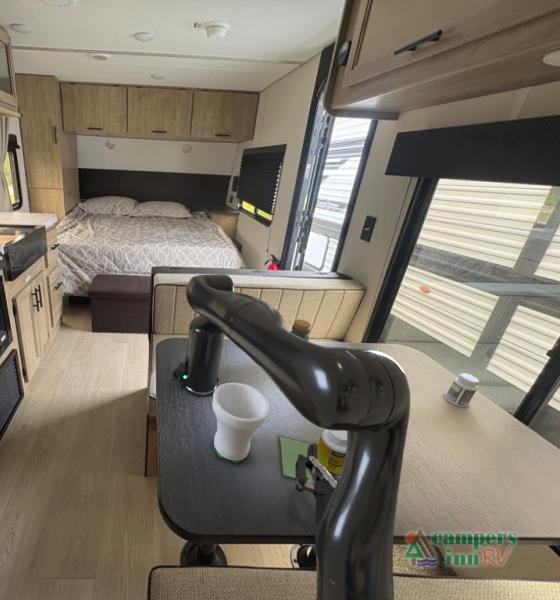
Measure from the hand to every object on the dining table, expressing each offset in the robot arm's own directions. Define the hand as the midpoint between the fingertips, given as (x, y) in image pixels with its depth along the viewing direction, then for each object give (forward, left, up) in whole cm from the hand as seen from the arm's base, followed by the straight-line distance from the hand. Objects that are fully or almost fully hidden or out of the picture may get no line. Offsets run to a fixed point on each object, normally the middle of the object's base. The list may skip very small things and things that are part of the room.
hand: (337, 455), depth 58 cm
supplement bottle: (+1, +4, -8) cm, 9 cm away
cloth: (+1, +4, -8) cm, 9 cm away
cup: (-19, +2, -8) cm, 21 cm away
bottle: (-2, +42, -8) cm, 43 cm away
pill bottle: (+42, +39, -8) cm, 57 cm away
